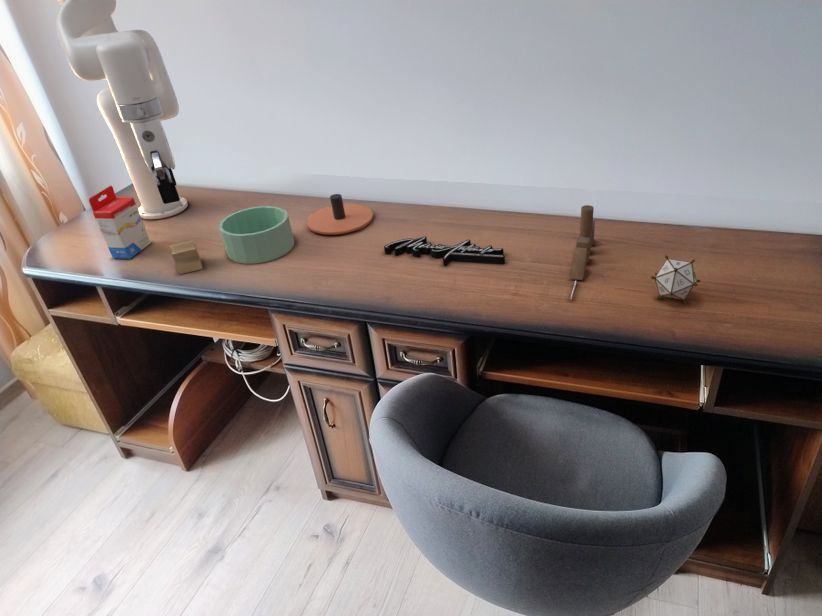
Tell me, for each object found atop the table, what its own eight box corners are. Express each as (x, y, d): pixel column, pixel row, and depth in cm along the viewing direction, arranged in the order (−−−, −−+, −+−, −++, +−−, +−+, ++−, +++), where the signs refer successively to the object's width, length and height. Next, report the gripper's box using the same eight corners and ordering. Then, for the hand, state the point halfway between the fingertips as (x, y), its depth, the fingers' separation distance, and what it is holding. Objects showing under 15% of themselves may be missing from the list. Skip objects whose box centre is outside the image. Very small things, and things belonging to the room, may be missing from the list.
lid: (301, 217, 160) (295, 192, 156) (362, 203, 164) (358, 178, 160) (315, 242, 147) (309, 216, 143) (381, 226, 152) (377, 200, 148)
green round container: (223, 242, 151) (215, 215, 146) (288, 227, 155) (281, 200, 151) (231, 270, 139) (222, 241, 135) (301, 253, 144) (294, 225, 139)
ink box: (130, 259, 146) (105, 200, 138) (112, 258, 147) (85, 199, 139) (152, 242, 153) (129, 184, 144) (134, 241, 154) (110, 184, 145)
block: (178, 264, 143) (170, 244, 140) (200, 259, 144) (193, 239, 141) (179, 274, 139) (171, 254, 136) (202, 268, 141) (195, 248, 138)
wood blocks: (582, 240, 140) (584, 196, 134) (594, 241, 139) (596, 197, 133) (564, 300, 121) (566, 251, 115) (577, 301, 120) (580, 252, 114)
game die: (659, 311, 122) (640, 263, 122) (702, 294, 121) (683, 245, 120) (667, 315, 114) (646, 263, 113) (714, 296, 112) (693, 243, 112)
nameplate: (377, 255, 137) (392, 234, 145) (378, 261, 138) (393, 240, 146) (502, 262, 131) (510, 240, 139) (502, 269, 132) (510, 247, 140)
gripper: (163, 116, 116) (192, 204, 127) (158, 96, 129) (185, 177, 140) (119, 124, 114) (153, 212, 124) (119, 103, 127) (150, 184, 137)
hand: (170, 194), depth 132 cm, fingers open, 9 cm apart
